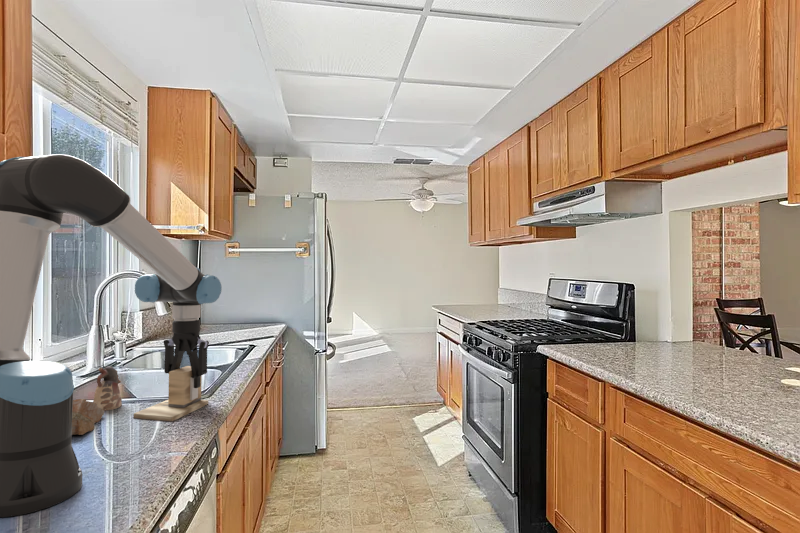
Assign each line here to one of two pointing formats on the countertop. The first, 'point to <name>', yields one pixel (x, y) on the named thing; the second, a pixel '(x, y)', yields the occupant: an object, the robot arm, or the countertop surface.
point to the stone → (85, 416)
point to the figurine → (108, 389)
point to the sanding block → (181, 388)
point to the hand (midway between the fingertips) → (185, 397)
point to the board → (168, 411)
